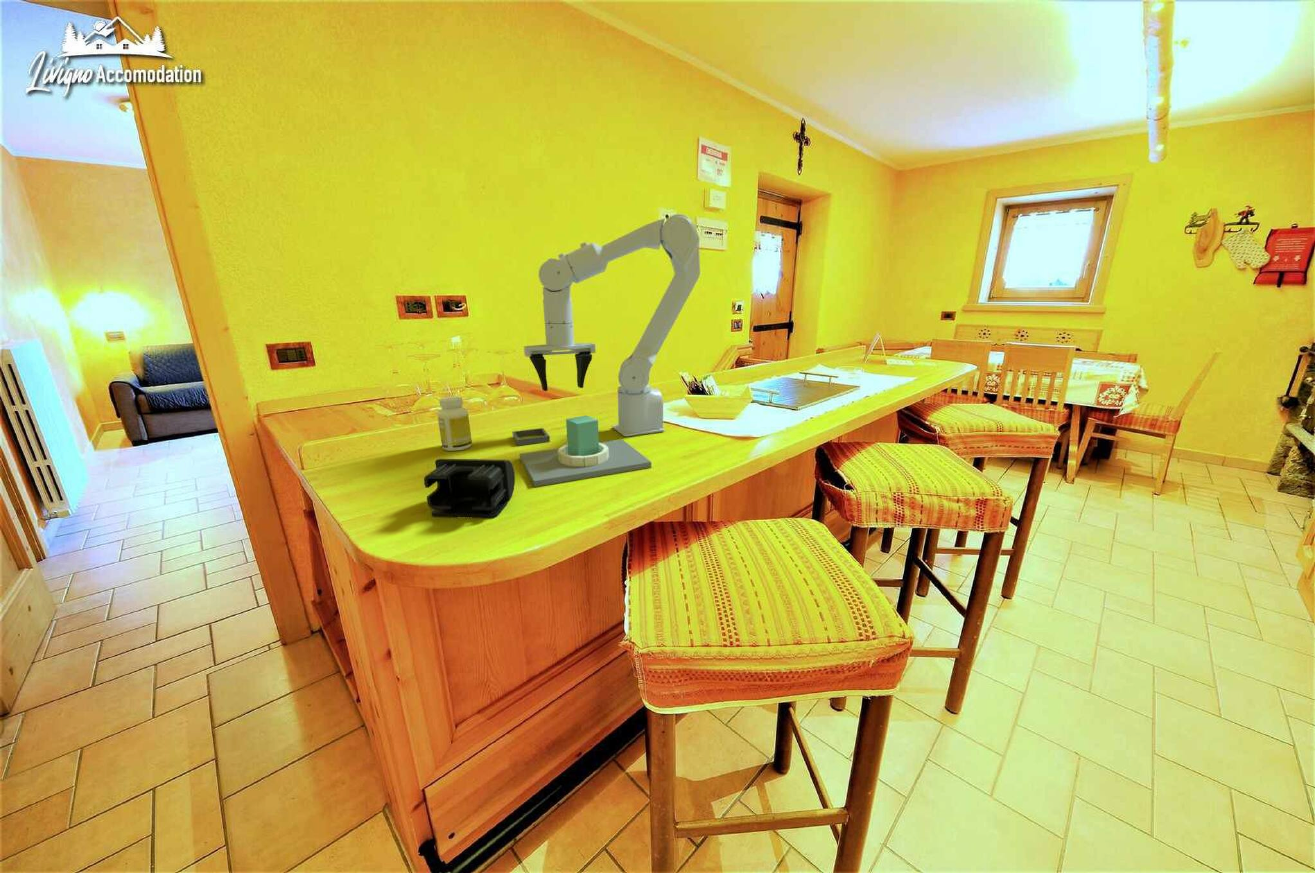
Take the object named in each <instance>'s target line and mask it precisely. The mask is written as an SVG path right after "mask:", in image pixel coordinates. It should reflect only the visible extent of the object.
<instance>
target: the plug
mask: <svg viewBox="0 0 1315 873" xmlns="http://www.w3.org/2000/svg"><path fill="white" fill-rule="evenodd" d="M565 421H566V422H565V423H566V438H567V444H568V455H572V456H588V455H594V454H597V453H599V443H600V441H599V440H600V439H599V438H600V437H599V420H598V419H596V418H594V417H592V416H589V415H581V416H575V417H569V418H566V419H565Z"/></svg>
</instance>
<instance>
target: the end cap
mask: <svg viewBox="0 0 1315 873" xmlns="http://www.w3.org/2000/svg"><path fill="white" fill-rule="evenodd" d="M434 463H435V469H433V470H432V471H431V472H429V473H428V474H427V475H425V476H424V477H423V481H424V482H423V484H424V487H425V488H426V489H429V488H430V487H431V486H433V485H434V484H435V483H436V484H437V486H436V489H435V490H433V491H432V492H430V493H429V494H428V495H427V496H426V501H427V505H428V507H429V508H430V509H432V510H431V517H432V518H433V517H434V518H458V517H465V519H495V517H496V518H497V517H498V516H499V515H500V514H501V513H502V512H503V510H504V509H505V508H506V507H507V506H508V503H509V502H510V501H511V499H512V497H513V494H514V491H515V483H516V480H515V479H516V477H515V476H516V475H515V474H516V473H515V468H514V465H513V463H512V462H511V461H510V460H508V459H484V458H483V459H478V458H477V459H476V458H474V459H473V458H469V459H468V458H438V459H436V460H435V461H434ZM466 517H467V518H466ZM468 517H469V518H468ZM471 517H472V518H471Z"/></svg>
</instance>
